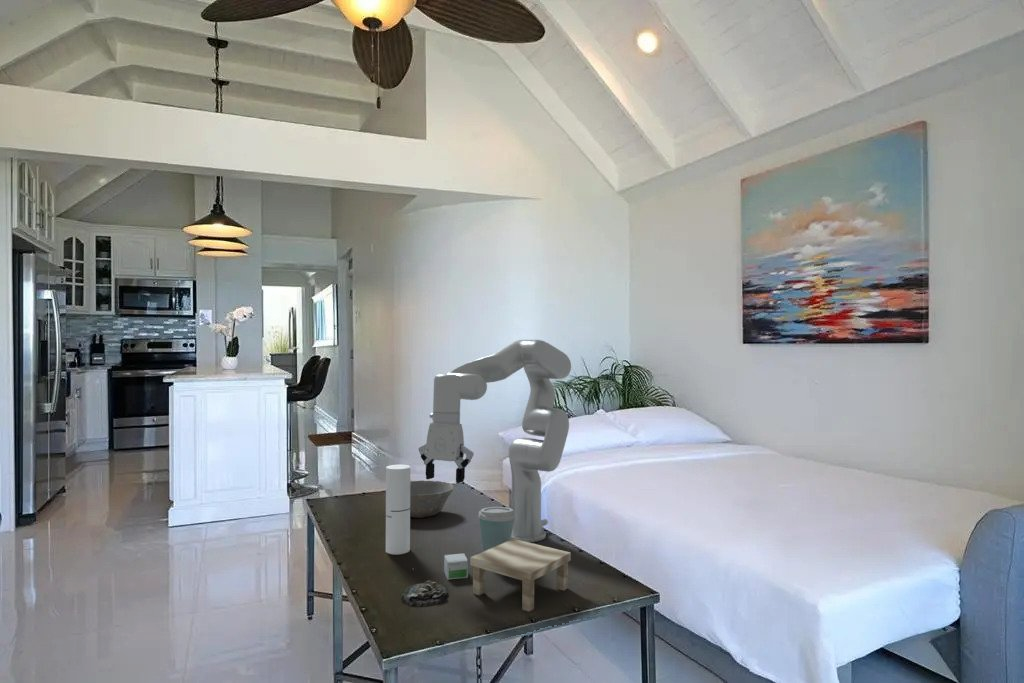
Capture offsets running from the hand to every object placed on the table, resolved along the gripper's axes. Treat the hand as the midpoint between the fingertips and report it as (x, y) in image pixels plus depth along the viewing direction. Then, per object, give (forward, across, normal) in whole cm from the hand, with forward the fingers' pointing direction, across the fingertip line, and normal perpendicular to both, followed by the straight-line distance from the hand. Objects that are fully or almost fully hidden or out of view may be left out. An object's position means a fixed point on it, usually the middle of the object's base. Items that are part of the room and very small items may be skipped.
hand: (444, 480), depth 167 cm
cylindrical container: (+24, -20, +6) cm, 32 cm away
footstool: (+24, +26, -5) cm, 36 cm away
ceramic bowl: (+23, -35, +42) cm, 59 cm away
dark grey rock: (+25, +6, -18) cm, 32 cm away
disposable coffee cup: (+24, +11, +12) cm, 29 cm away
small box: (+24, +6, -3) cm, 25 cm away
